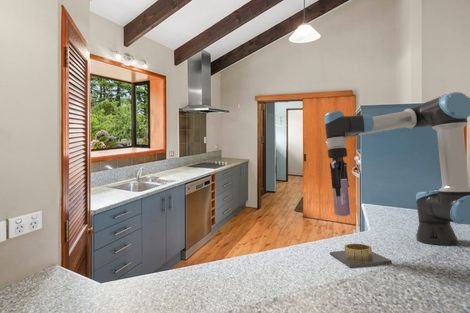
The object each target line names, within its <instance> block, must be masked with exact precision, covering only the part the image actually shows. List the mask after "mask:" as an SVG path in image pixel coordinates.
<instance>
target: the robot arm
mask: <svg viewBox="0 0 470 313" xmlns="http://www.w3.org/2000/svg"><path fill="white" fill-rule="evenodd" d="M343 112H344V111H341V110H340V111H339V110H335V111H329V112H327V113H325V115H324V128H325V134H326V135H325V138H326V142H325V144H326V146H327V157H328V159H332V161H331V162H329V168H330V177H331V187H332V190H333V189H334V188H335V196H340V197H341V203H342V205H343V196H342V188H341V179H347V182H348V188H349V187H350V184H349V177H348V164H347V162H345V160H344V158H347V157H348V150H347V148H346V147H347V141H346V140H347V138H352V137H356V136H362V135H368V134H373V133H375V134H376V133H378V132H384V131H391V130H397V129H403V128H407V129H416V128H424V127H431V128H432V130H434V131H436V135H437V147H438V155H439V165H440V175H441V187H439V189H438V190H428V191H419V192H416V195H415V202H416V208H417V215H418V216H417V218H418V226H417V233H416V235H415V239H416V241H417V242H420V243H424V244H428V245H436V246H454V245H455V246H456V245H457V244H459V240H458V237H457V235H456V233H455V231H454V229H453V227H452V225H451V223H453V224H454V223H455V224H458V225H470V180H469V173H468V163H467V153H466V144H465V136H464V128H465V127H466V126H467V125H468V118H469V117H470V97H469V96H467V95H466V94H465V93H462V92H458V91H454V92H449V93H447V94H446V93H444V94H442V95H441V96H438V97H436V98H433V99H431V100H428V101H426V102H424V103H421V104H418V105H416V106H414V107H410V108H409V107H408V108H405V109H404V110H403V111H399V112H393V113H387V114H382V115H376V116H372V115H370V114H361V115H360V114H358V115H344V113H343Z"/></svg>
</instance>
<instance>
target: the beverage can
mask: <svg viewBox="0 0 470 313" xmlns="http://www.w3.org/2000/svg"><path fill="white" fill-rule="evenodd" d="M348 183H349V181H348V182H347V179H341V188H342V196H343V205H342V203H341V197H340V196H335V188H334V189H333V188H332V196H333V197H332V199H333V209H334V215H335V216H336V217H349V216H350V215H351V207H350V206H351V205H350V197H349V196H350V195H349V187H348Z"/></svg>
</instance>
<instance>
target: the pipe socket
mask: <svg viewBox="0 0 470 313" xmlns="http://www.w3.org/2000/svg"><path fill="white" fill-rule="evenodd" d="M343 249H344V250H338V251H329V256H331V257H333V258H334V259H336V260H337V261H338V262H340V263H342V264H343V265H345V266H347V267H348V268H350V269H351V268H353V269H354V268H362V267H363V268H364V267H375V266H382V265H383V266H385V265H392V264H393V262H392V261H393V260H391V259H389V258H387V257H385V256H382V255H380V254H378V253H376V252H375V251H373V249H372V246H370V245H367V244H365V243H347V244H344V246H343Z"/></svg>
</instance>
